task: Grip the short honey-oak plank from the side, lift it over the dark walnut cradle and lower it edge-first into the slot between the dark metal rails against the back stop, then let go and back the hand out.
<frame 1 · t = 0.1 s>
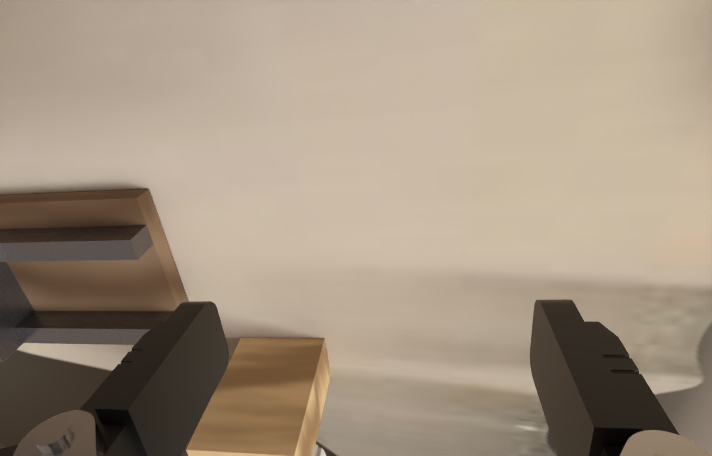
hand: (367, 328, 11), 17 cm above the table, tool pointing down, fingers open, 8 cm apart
cradle: (93, 268, 34), on the table
oak plank: (286, 355, 37), on the table
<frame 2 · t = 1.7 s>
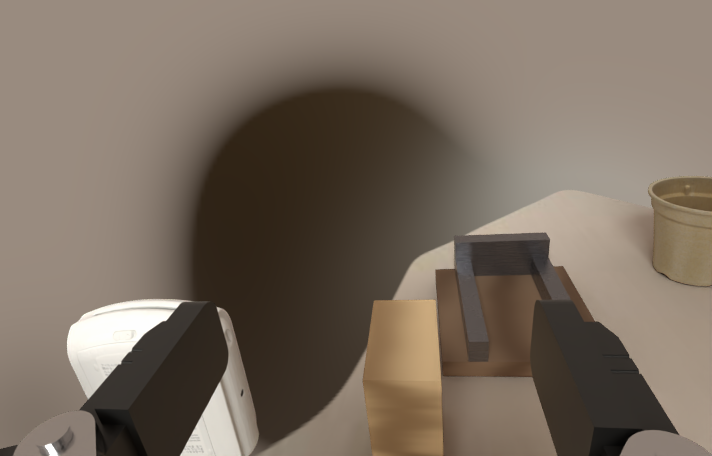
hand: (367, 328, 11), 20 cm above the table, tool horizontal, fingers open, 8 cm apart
photo printer: (193, 445, 32), on the table
flower pot: (687, 272, 45), on the table
cradle: (509, 320, 41), on the table
oak plank: (411, 452, 30), on the table
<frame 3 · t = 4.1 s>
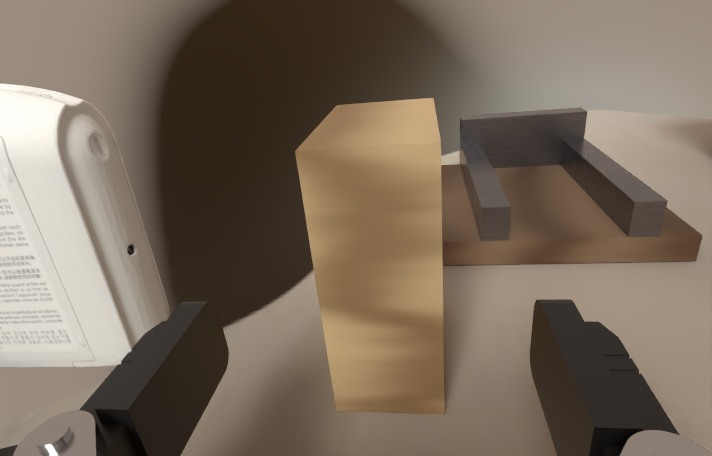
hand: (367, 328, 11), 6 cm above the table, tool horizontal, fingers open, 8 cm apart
photo printer: (73, 347, 22), on the table
cradle: (534, 212, 30), on the table
oak plank: (394, 348, 19), on the table
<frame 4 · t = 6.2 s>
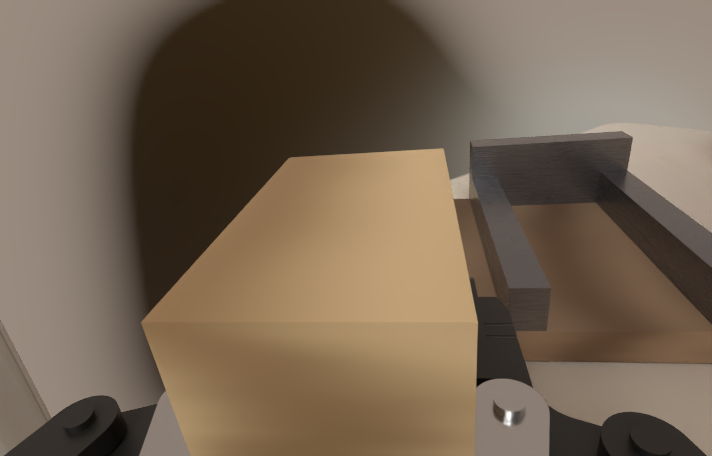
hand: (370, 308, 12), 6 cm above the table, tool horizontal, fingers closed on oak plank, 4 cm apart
cradle: (568, 269, 24), on the table
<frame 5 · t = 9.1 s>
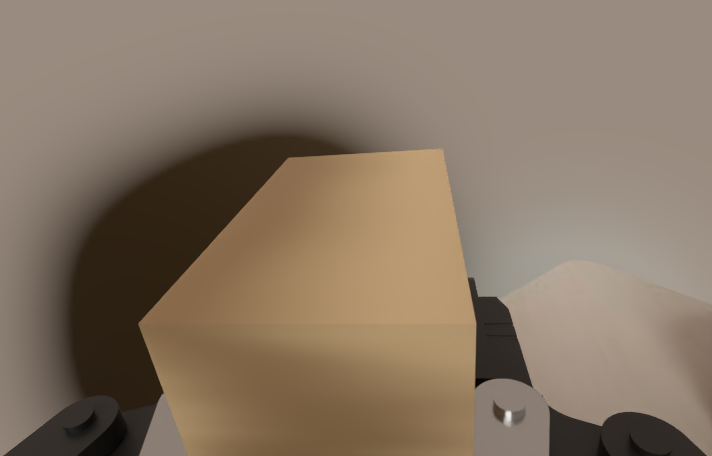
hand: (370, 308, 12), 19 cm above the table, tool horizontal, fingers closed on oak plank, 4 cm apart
when the fingers open (8 cm above the table, at t = 12.0 s): oak plank stays where it is, resting on cradle.
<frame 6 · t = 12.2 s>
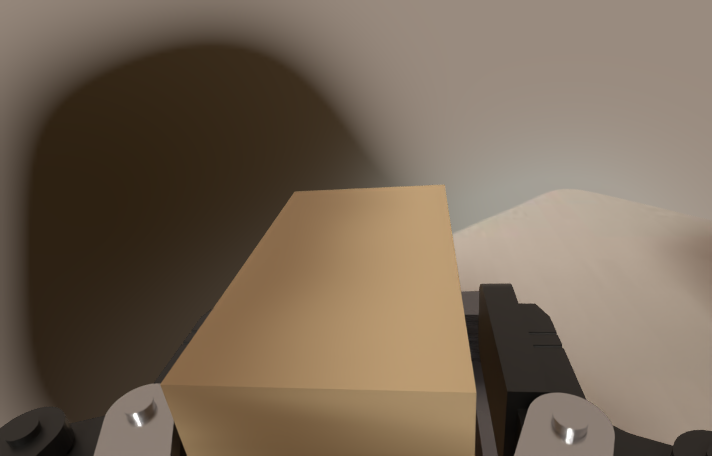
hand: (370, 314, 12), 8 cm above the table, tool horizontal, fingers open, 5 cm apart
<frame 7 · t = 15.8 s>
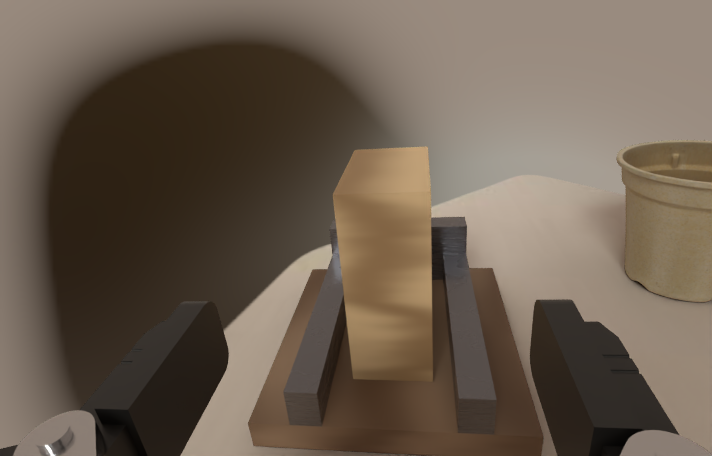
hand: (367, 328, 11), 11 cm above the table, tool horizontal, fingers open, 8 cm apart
flower pot: (673, 281, 31), on the table
cradle: (396, 349, 26), on the table
oak plank: (395, 335, 25), point 1 cm above the table, touching cradle
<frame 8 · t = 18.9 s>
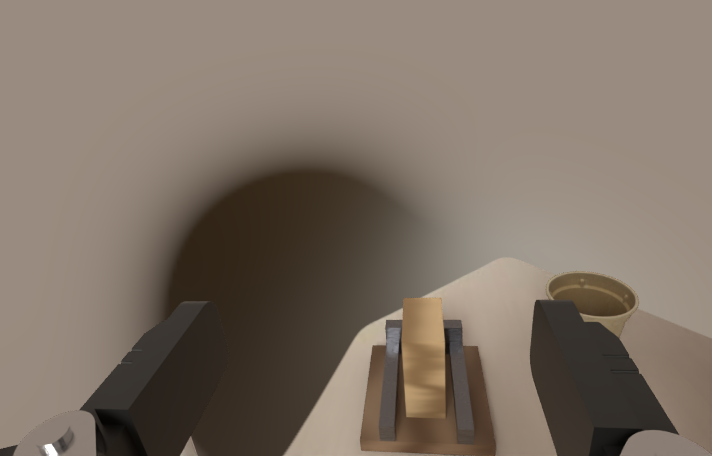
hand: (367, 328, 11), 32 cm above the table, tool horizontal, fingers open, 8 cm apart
flower pot: (581, 352, 54), on the table
cradle: (425, 398, 50), on the table
oak plank: (425, 391, 48), point 1 cm above the table, touching cradle
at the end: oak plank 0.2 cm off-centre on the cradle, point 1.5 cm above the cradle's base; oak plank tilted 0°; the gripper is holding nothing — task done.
